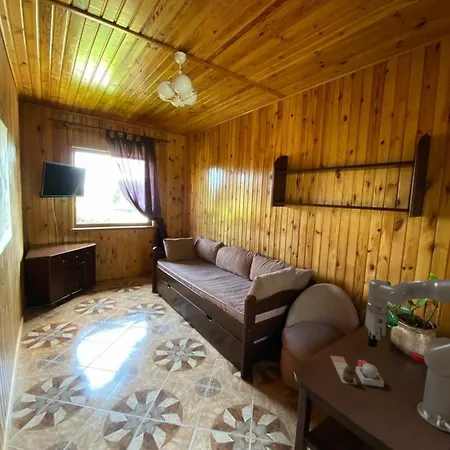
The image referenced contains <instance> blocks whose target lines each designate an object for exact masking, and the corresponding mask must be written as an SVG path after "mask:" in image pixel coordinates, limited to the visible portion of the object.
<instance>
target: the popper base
mask: <svg viewBox="0 0 450 450" xmlns="http://www.w3.org/2000/svg"><path fill="white" fill-rule="evenodd" d="M365 363H367V364H369V363H368V361H367V360H364V359H358V360H357V365H356V366H355V373H356V374H357V376H358V378H359V380H360V382H361V383H362V385H366V386H371V387H372V386H373V387H379V388H384V385H385V381H384V379H383V377H381V375H380V374H379V372H378V373H377V379H368V378H365V377H364V376H363V374H362V368H363V364H365Z"/></svg>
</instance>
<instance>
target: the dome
mask: <svg viewBox="0 0 450 450" xmlns="http://www.w3.org/2000/svg"><path fill="white" fill-rule="evenodd" d="M367 363H368V362H367ZM367 363H365V364H363V368H362V374H363V376H364V378H368V379H376V380H377V373H379V370H378V368H377V367H376V366H375V365H373V364H371V363H368V364H367Z"/></svg>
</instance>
